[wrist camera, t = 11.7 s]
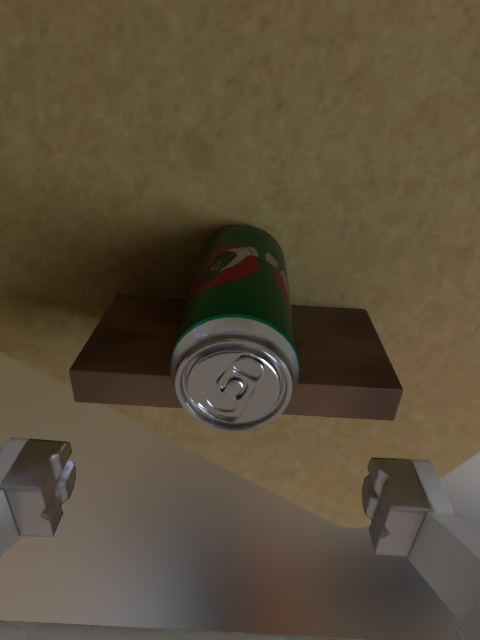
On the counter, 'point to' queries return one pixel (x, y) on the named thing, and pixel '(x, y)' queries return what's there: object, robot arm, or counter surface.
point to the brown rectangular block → (313, 346)
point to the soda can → (237, 334)
